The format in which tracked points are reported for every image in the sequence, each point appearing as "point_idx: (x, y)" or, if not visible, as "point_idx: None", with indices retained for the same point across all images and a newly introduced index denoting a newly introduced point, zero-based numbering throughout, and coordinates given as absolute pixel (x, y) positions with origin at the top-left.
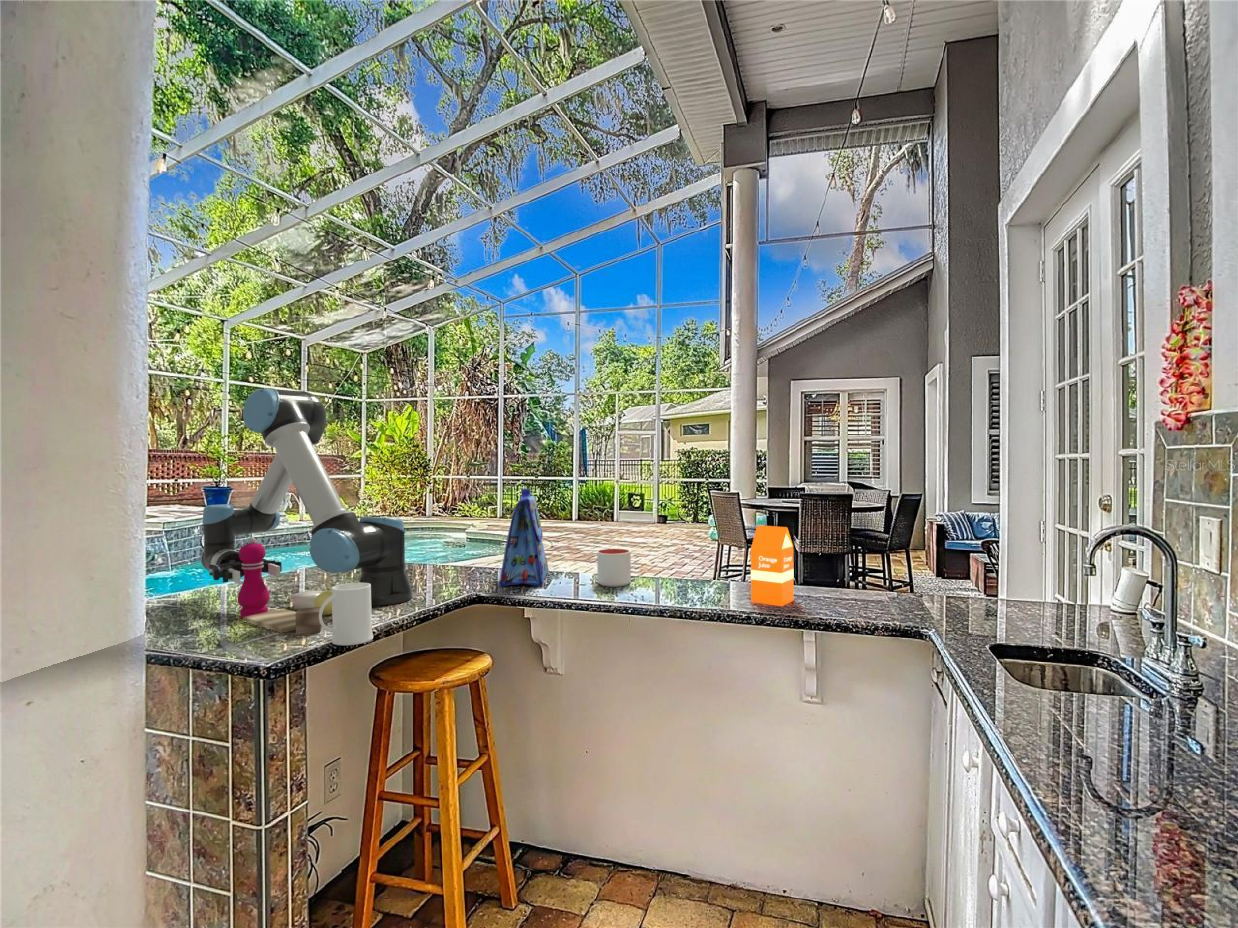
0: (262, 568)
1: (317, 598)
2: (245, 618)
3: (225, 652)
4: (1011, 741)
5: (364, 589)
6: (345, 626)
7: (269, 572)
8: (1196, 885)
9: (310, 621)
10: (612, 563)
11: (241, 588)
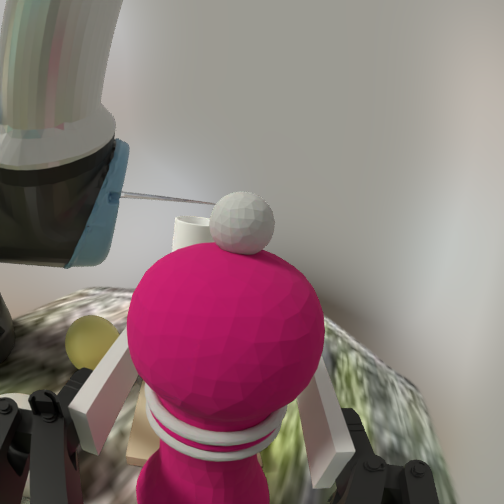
0: (77, 501)
1: (115, 335)
2: (259, 457)
3: (327, 337)
4: (163, 200)
5: (196, 218)
6: None
7: (103, 435)
8: (206, 202)
9: None
10: None
11: (262, 480)
